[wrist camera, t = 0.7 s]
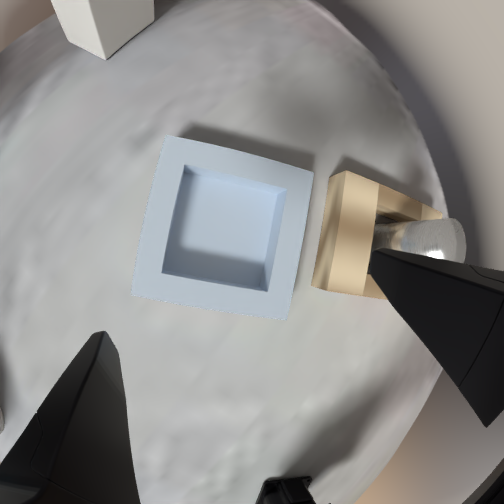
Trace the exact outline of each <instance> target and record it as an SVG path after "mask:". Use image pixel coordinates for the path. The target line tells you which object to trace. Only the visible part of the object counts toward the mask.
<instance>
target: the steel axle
mask: <svg viewBox="0 0 504 504" xmlns="http://www.w3.org/2000/svg"><path fill="white" fill-rule="evenodd" d="M379 248H388V249H393V250H399V251H404V252H409V253H414V254H420V255H425V256H430V257H435V258H440V259H445V260H450V261H454V262H459V263H464V260H465V255H466V238H465V234H464V230H463V228H462V226H461V224H460V223H459V222H458V221H457V220H456V219H453V218H447V219H434V220H421V221H408V222H396V223H384V224H375V225H374V233H373V240H372V246H371V253H370V259H369V264H371V254H372V252H373V251H374V250H376V249H379Z"/></svg>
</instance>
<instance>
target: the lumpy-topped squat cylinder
mask: <svg viewBox="0 0 504 504" xmlns="http://www.w3.org/2000/svg"><path fill="white" fill-rule="evenodd" d="M3 430H4V417H3V413H2V410H1V407H0V434H1V432H2V431H3Z"/></svg>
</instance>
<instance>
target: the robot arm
mask: <svg viewBox="0 0 504 504" xmlns="http://www.w3.org/2000/svg"><path fill="white" fill-rule="evenodd" d="M370 274H371V277H372V278H373V280H374V281H375V282H376V284H377V285H378V287H379V288H380V289H381V291H382V292H383V293H384V295H385V296H386V298H387V299H388V300H389V302H390V303H391V305H392V306H393V307H394V308H395V310H396V311H397V312H398V313H399V314H400V316H401V317H402V318H403V319H404V320H405V321H406V323H407V324H408V325H409V326H410V327H411V329H412V330H413V331H414V332H415V333H416V335H417V336H418V337H419V338H420V340H421V341H422V342H423V343H424V344H425V346H426V347H427V348H428V349H429V351H430V352H431V353H432V354H433V356H434V357H435V358H436V360H437V361H438V362H439V363H440V365H441V366H442V367H443V369H444V370H445V371H446V373H447V374H448V375H449V376H450V378H451V379H452V381H453V382H454V383H455V384H456V386H457V387H458V389H459V390H460V392H461V393H462V394H463V396H464V397H465V398H466V400H467V401H468V403H469V404H470V406H471V407H472V408H473V410H474V411H475V413H476V414H477V416H478V417H479V419H480V420H481V422H482V423H483V425H484V426H485V427H486V428H487V427H488V426H489V425H490V424H491V423H492V422H493V421H494V420H495V419H496V418H497V416H498V415H499V414H500V413H501V412H502V411H503V410H504V271H499V270H494V269H488V268H483V267H478V266H474V265H468V264H464V263H459V262H454V261H450V260H445V259H440V258H435V257H430V256H425V255H420V254H414V253H409V252H404V251H399V250H393V249H388V248H379V249H376V250H374V251H373V252H372V254H371V264H370ZM311 481H312V478H311V477H310V476H308V477H301V478H294V479H285V480H275V481H266V482H264V484H263V486H262V489H261V491H260V494H259V496H258V499H257V501H256V504H316V503H315V501H314V500H313V497H312V495H311V494H310V492H309V491H308V487H309V485H310V483H311ZM0 504H141V503H140V499H139V494H138V489H137V484H136V479H135V473H134V467H133V460H132V453H131V446H130V438H129V429H128V418H127V406H126V397H125V391H124V385H123V379H122V372H121V365H120V358H119V353H118V351H117V349H116V347H115V345H114V344H113V342H112V340H111V338H110V337H109V335H108V333H107V332H106V331H100V332H96V333H93V334H92V335H91V337H90V338H89V339H88V341H87V342H86V343H85V344H84V346H83V347H82V348H81V350H80V351H79V352H78V354H77V355H76V356H75V358H74V359H73V360H72V362H71V363H70V364H69V366H68V367H67V368H66V370H65V371H64V373H63V374H62V375H61V377H60V378H59V380H58V381H57V382H56V384H55V385H54V387H53V388H52V389H51V391H50V392H49V394H48V395H47V397H46V398H45V400H44V401H43V403H42V404H41V406H40V407H39V409H38V410H37V413H35V415H34V416H33V418H32V419H31V421H30V422H29V424H28V425H27V427H26V428H25V430H24V431H23V433H22V434H21V436H20V437H19V439H18V440H17V441H16V443H15V444H14V446H13V447H12V448H11V450H10V451H9V453H8V454H7V455H6V457H5V458H4V460H3V461H2V463H1V464H0ZM329 504H331V503H329ZM462 504H504V458H503V459H502V461H501V462H500V463H499V464H498V466H497V467H496V468H495V469H494V470H493V472H492V473H491V474H490V475H489V476H488V477H487V479H486V480H485V481H484V482H483V483H482V484H481V485H480V486H479V487H478V488H477V489H476V490H475V491H474V492H473V493H472V494H471V495H470V496H469V498H467V499H466V500H465V501H464V502H463V503H462Z"/></svg>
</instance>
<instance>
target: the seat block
mask: <svg viewBox="0 0 504 504" xmlns="http://www.w3.org/2000/svg"><path fill="white" fill-rule="evenodd" d="M313 176H314V172H311V171H308V170H304V169H301V168H298V167H295V166H292V165H288V164H285V163H282V162H278V161H275V160H271V159H268V158H264V157H261V156H257V155H253V154H249V153H246V152H242V151H238V150H234V149H230V148H226V147H221V146H217V145H213V144H208V143H204V142H199V141H195V140H190V139H185V138H180V137H175V136H170V135H166V136H165V139H164V142H163V145H162V149H161V152H160V156H159V159H158V163H157V166H156V170H155V174H154V178H153V181H152V185H151V189H150V193H149V198H148V202H147V206H146V211H145V215H144V220H143V224H142V229H141V234H140V239H139V245H138V250H137V256H136V262H135V268H134V274H133V281H132V288H131V295H133V296H137V297H142V298H147V299H152V300H157V301H163V302H168V303H173V304H179V305H184V306H190V307H196V308H202V309H208V310H214V311H221V312H227V313H234V314H241V315H248V316H256V317H263V318H271V319H279V320H287V317H288V312H289V308H290V303H291V298H292V293H293V288H294V284H295V279H296V273H297V268H298V263H299V258H300V253H301V247H302V242H303V236H304V231H305V225H306V219H307V213H308V207H309V201H310V195H311V189H312V182H313Z"/></svg>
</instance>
